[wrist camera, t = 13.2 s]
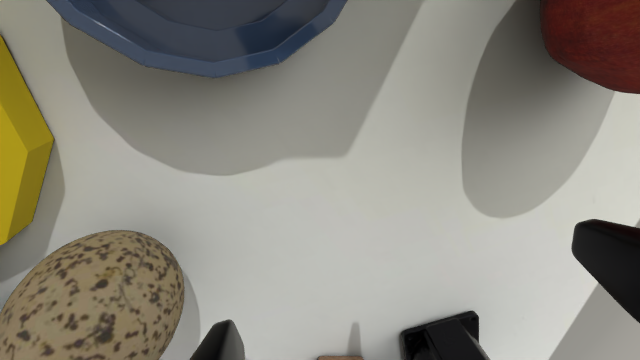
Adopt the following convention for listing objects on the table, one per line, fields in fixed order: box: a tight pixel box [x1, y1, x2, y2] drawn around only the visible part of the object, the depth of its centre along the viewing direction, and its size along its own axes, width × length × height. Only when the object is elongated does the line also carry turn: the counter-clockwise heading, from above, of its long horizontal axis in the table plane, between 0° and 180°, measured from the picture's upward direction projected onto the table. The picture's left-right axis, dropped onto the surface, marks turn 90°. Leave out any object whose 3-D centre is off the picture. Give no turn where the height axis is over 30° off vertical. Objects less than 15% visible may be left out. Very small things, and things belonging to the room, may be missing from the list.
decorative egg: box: [0, 230, 184, 360], centre depth 15 cm, size 7×7×10 cm
